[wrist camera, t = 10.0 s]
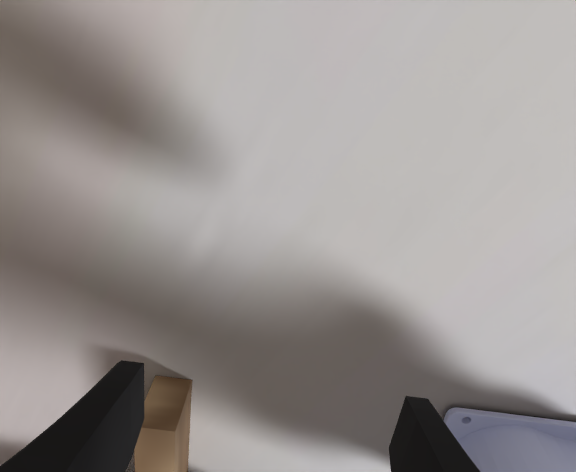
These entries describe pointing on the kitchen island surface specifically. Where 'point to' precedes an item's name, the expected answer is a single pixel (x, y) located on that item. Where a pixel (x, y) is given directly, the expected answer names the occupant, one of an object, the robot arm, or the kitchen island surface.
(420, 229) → the kitchen island surface
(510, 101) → the kitchen island surface
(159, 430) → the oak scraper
